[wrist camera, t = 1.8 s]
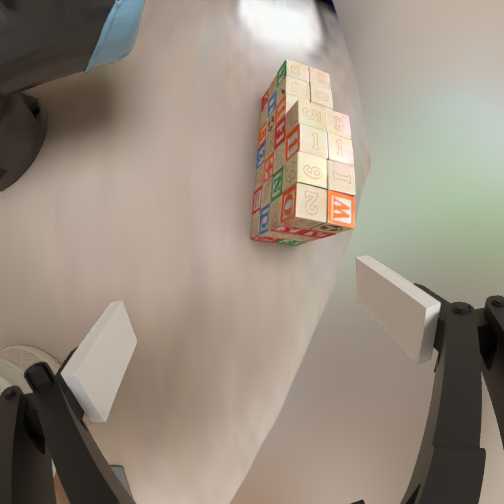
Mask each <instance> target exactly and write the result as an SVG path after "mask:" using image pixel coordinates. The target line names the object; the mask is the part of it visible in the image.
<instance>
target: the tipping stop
mask: <svg viewBox="0 0 504 504" xmlns="http://www.w3.org/2000/svg"><path fill="white" fill-rule="evenodd" d="M109 466H110V467H111V469H112V470H113V472H114V474H115V475H116V477H117V478H118V479H119V481H120V482H121V484H122V485H123V487H124V488H125V489H126V491H127V492H128V494H129V495H130V496H131V498H132V495H131V492H130V489H129V485H128V482H127V479H126V476H125V472H124V469H123V466H114V465H109ZM53 479H54V487H55V494H56V501H57V504H71V503H70V501H69V499H68V497H67V495H66V492H65V490H64V488H63V486H62V483H61V481H60V478H59V476H58V474H57V471H56V473H55V476H54V478H53ZM132 499H133V498H132Z"/></svg>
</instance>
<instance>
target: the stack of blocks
mask: <svg viewBox="0 0 504 504" xmlns="http://www.w3.org/2000/svg"><path fill="white" fill-rule="evenodd" d="M353 165H354V159H353V149H352V142H351V132H350V123H349V117H348V116H346V115H344V114H341V113H338V112H335V111H333V102H332V92H331V86H330V77H329V74H327V73H325V72H322V71H320V70H317V69H315V68H312V67H307V66H305V65H303V64H300V63H297V62H294V61H291V60H288V59H286V60H285V62H284V63H283V65H282V66H281V68H280V69H279V71H278V73H277V76H276V77H275V78H274V80H273V82H272V83H271V85H270V87H269V89H268V90H267V91H266V93H265V95H264V97H263V99H262V113H261V118H260V131H259V140H258V159H257V172H256V184H255V192H254V201H253V212H252V221H251V232H250V239H251V240H258V241H266V242H272V243H273V242H276V243H282V244H289V245H300V244H303V243H306V242H309V241H313V240H316V239H319V238H325V237H328V236H331V235H335V234H336V233H340V232H343V231H347V230H350V229H354V228H355V198H354V196H355V194H356V192H355V174H354V167H353Z"/></svg>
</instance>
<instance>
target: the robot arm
mask: <svg viewBox="0 0 504 504" xmlns="http://www.w3.org/2000/svg"><path fill="white" fill-rule="evenodd" d="M144 3H145V0H0V191H1V190H3V189H5V188H6V187H8V186H10V185H11V184H12V183H14V182H15V181H16V180H17V179H18V178H19V177H20V176H21V175H22V174H23V173H24V172H25V171H26V170H27V169H28V167H29V166H30V165H31V163H32V162H33V160H34V159H35V157H36V155H37V154H38V152H39V150H40V148H41V145H42V143H43V140H44V137H45V133H46V127H47V117H46V112H45V109H44V107H43V105H42V103H41V101H40V99H39V98H38V96H37V95H36V94H35V93H34V92H32V91H31V90H29V89H30V88H32V87H35V86H38V85H40V84H43V83H46V82H49V81H52V80H55V79H58V78H61V77H64V76H68V75H71V74H74V73H78V72H82V71H83V73H84V72H88V71H90V69H91V68H95V67H98V66H102V65H105V64H109V63H113V62H117V61H119V60H121V59H123V58H124V57H126V56H127V55H128V54H129V53H130V51H131V50H132V48H133V46H134V44H135V41H136V38H137V34H138V31H139V26H140V22H141V18H142V13H143V8H144ZM356 280H357V302H358V303H359V304H360V305H361V306H362V307H363V308H364V309H365V310H366V311H367V312H368V313H369V314H370V315H371V316H372V317H373V318H374V319H375V320H376V322H377V323H379V324H380V326H381V327H382V328H383V329H384V330H385V331H386V332H387V333H388V334H389V335H390V336H391V337H392V338H393V339H394V340H395V341H396V342H397V343H398V344H399V346H401V348H402V349H403V350H404V351H405V352H406V353H407V354H408V355H409V356H410V357H411V358H412V359H413V361H414V362H415V363H416V364H417V365H418V364H421V363H423V362H425V361H427V360H430V359H431V357H432V352H433V347H434V348H435V349H436V350H437V351H438V357H437V361H436V365H435V369H434V372H435V379H434V386H433V392H432V399H431V404H430V409H429V414H428V418H427V423H426V428H425V432H424V436H423V440H422V444H421V447H420V451H419V454H418V458H417V461H416V465H415V468H414V471H413V474H412V477H411V480H410V483H409V486H408V489H407V491H406V493H405V495H404V497H403V499H402V501H401V503H400V504H478V502H479V498H480V493H481V487H482V481H483V475H484V467H485V459H486V451H485V449H484V448H480V432H481V411H482V382H481V371H482V374H483V377H484V380H485V383H486V386H487V389H488V392H489V395H490V398H491V401H492V405H493V408H494V412H495V415H496V418H497V423H498V427H499V430H500V435H501V439H502V444H503V449H504V297H502V296H499V295H497V296H491V297H488V298H487V300H486V303H485V308H481V309H475V310H474V308H473V307H472V306H471V305H469V304H467V303H463V302H454V303H451V304H450V303H449V302H447V301H446V300H444V299H443V298H441V297H440V296H438V295H437V294H435V293H434V292H432V291H430V290H429V289H428V288H426V287H425V286H422V285H419V284H416V283H414V284H412V283H411V282H409V281H408V280H406V279H404V278H403V277H401V276H400V275H398V274H397V273H395V272H393V271H392V270H391V269H389V268H387V267H386V266H384V265H383V264H381V263H380V262H378V261H376V260H375V259H373V258H371V257H370V256H368V255H365V256H360V257H356ZM137 342H138V341H137V339H136V336H135V334H134V331H133V328H132V326H131V323H130V320H129V317H128V314H127V312H126V309H125V306H124V303H123V300H121V301H115V302H111V303H110V304H109V305H108V307H107V308H106V309H105V311H104V312H103V313H102V315H101V316H100V317H99V319H98V320H97V321H96V323H95V324H94V326H93V327H92V328H91V330H90V331H89V332H88V334H87V335H86V337H85V338H84V339H83V341H82V342H81V344H80V345H79V346H78V347H76V348H75V349H74V350H73V351H71V352H70V354H69V355H68V357H67V359H66V360H65V361H64V363H63V364H62V365H61V367H60V368H59V370H58V371H57V373H56V374H55V375H54V374H53V372H52V370H51V368H50V366H49V365H48V363H47V362H38V363H35V364H33V365H31V366H30V367H28V368H27V369H26V371H25V372H24V378H25V380H26V381H27V383H28V385H29V386H30V388H31V390H32V391H33V393H28V394H24V393H23V392H22V390H21V388H20V387H19V386H16V385H15V386H11V387H7V388H6V389H4V391H3V392H2V393H1V395H0V504H57V501H56V494H55V487H54V479H53V468H52V460H53V463H54V466H55V468H56V471H57V474H58V476H59V478H60V481H61V483H62V486H63V488H64V490H65V492H66V495H67V497H68V499H69V501H70V503H71V504H136V503H135V502H134V500H133V499H132V498H131V496H130V495H129V494H128V492H127V491H126V489H125V488H124V487H123V485H122V484H121V482H120V481H119V479H118V478H117V477H116V475H115V474H114V472H113V470H112V469H111V467H110V466H109V464H108V463H107V461H106V459H105V458H104V456H103V455H102V453H101V451H100V450H99V448H98V446H97V444H96V443H95V441H94V439H93V437H92V435H91V434H90V432H89V430H88V428H87V426H86V424H85V423H84V421H83V420H82V418H83V415H84V413H85V414H86V416H87V417H88V419H89V420H90V422H93V423H106V420H107V418H108V415H109V412H110V409H111V407H112V404H113V401H114V399H115V396H116V394H117V391H118V389H119V386H120V383H121V381H122V378H123V376H124V374H125V371H126V369H127V366H128V364H129V361H130V359H131V357H132V354H133V352H134V349H135V347H136V345H137ZM351 504H365V503H364V501H363V500H360V501H357V502H354V503H351Z"/></svg>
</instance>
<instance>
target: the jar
mask: <svg viewBox="0 0 504 504" xmlns="http://www.w3.org/2000/svg"><path fill="white" fill-rule="evenodd" d="M38 362H47V363H48V365H49V366H50V368H51V370H52V372H53V374H54V375H55V374H56V373H57V371H58V370H59V368H60V367H61V365H60V364H59V363H58V362H57V361H56V360H55V359H54V358H53V357H51V356H50V355H49V354H47V353H46V352H44V351H42V350H40V349H37V348H35V347H31V346H23V345H14V346H10V347H7V348H4V349H2V350H0V395H1V393H2V392H3V391H4V389H6V388H7V387H11V386H15V385H16V386H19V387H20V388H21V390H22V392H23V393H24V394H28V393H33V391H32V390H31V388H30V386H29V385H28V383H27V381H26V380H25V378H24V372H25V371H26V369H27V368H28V367H30V366H31V365H33V364H35V363H38ZM52 468H53V478H54V476H55V473H56V468H55V466H54V463H53V460H52Z"/></svg>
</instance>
